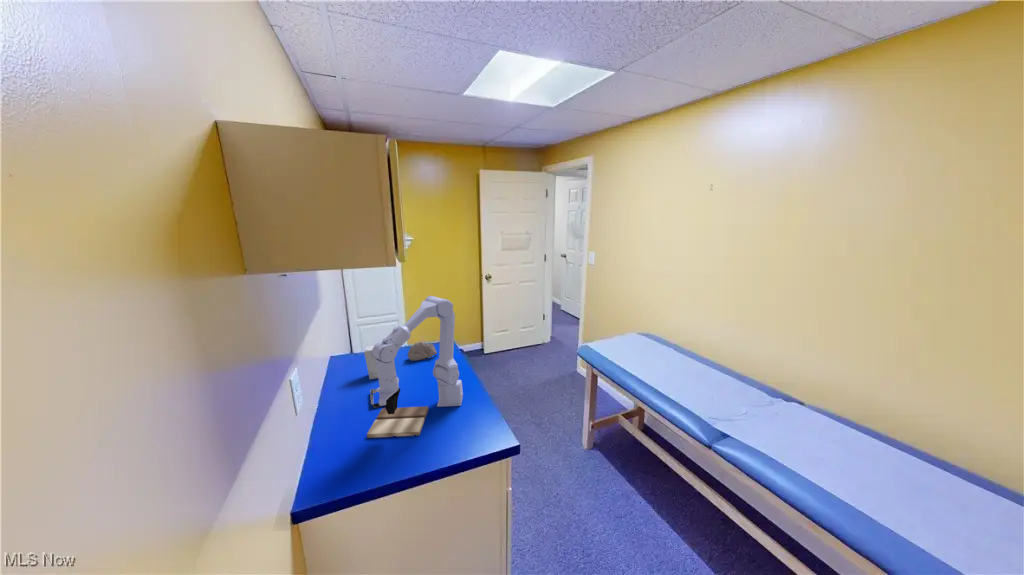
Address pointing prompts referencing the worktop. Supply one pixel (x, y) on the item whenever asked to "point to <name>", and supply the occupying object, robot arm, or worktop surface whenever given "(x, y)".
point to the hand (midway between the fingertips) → (392, 411)
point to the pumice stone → (421, 351)
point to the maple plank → (396, 427)
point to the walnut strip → (404, 413)
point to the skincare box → (371, 362)
